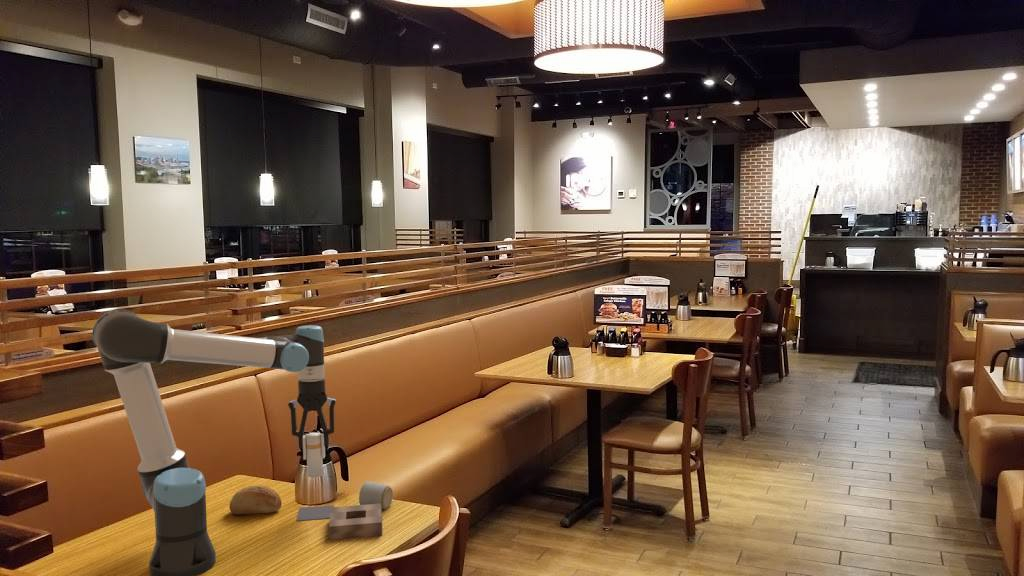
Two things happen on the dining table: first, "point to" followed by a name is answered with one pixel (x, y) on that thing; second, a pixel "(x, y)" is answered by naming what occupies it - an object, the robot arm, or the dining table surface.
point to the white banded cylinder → (314, 455)
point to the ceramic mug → (376, 494)
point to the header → (355, 522)
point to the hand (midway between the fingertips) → (314, 457)
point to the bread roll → (255, 500)
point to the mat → (314, 513)
